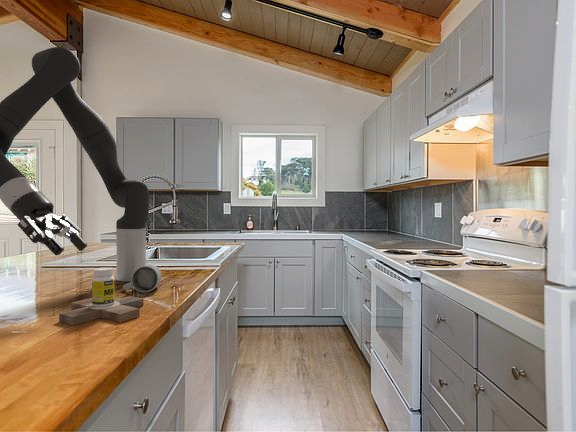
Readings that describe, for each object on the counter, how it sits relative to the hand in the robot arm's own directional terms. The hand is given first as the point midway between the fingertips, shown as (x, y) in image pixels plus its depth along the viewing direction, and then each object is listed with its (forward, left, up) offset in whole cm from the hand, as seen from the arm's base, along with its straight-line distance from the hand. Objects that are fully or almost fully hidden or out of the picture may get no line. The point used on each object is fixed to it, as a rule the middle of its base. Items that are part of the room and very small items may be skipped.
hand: (72, 250), depth 88 cm
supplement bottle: (+3, +7, -13) cm, 15 cm away
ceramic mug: (-21, +13, -15) cm, 29 cm away
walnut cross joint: (+3, +7, -15) cm, 16 cm away
